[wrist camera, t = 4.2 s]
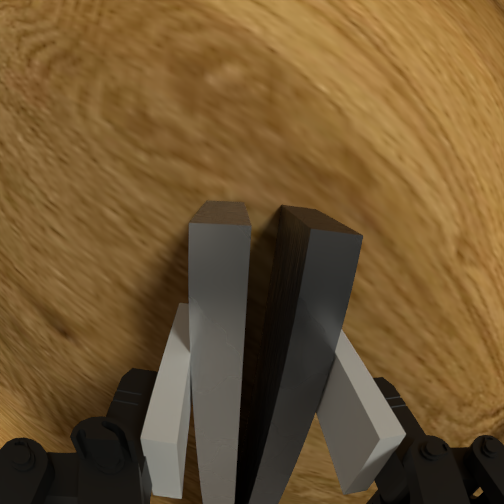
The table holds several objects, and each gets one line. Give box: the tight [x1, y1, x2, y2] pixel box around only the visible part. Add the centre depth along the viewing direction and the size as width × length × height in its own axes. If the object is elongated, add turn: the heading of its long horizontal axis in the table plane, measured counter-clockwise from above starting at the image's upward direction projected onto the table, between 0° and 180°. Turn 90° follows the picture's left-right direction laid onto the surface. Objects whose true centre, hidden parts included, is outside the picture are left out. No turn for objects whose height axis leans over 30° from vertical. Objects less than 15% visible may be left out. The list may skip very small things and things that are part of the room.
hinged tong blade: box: [188, 201, 251, 504], centre depth 12 cm, size 20×2×5 cm, turn 176°
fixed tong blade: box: [234, 205, 363, 504], centre depth 13 cm, size 24×4×6 cm, turn 173°
